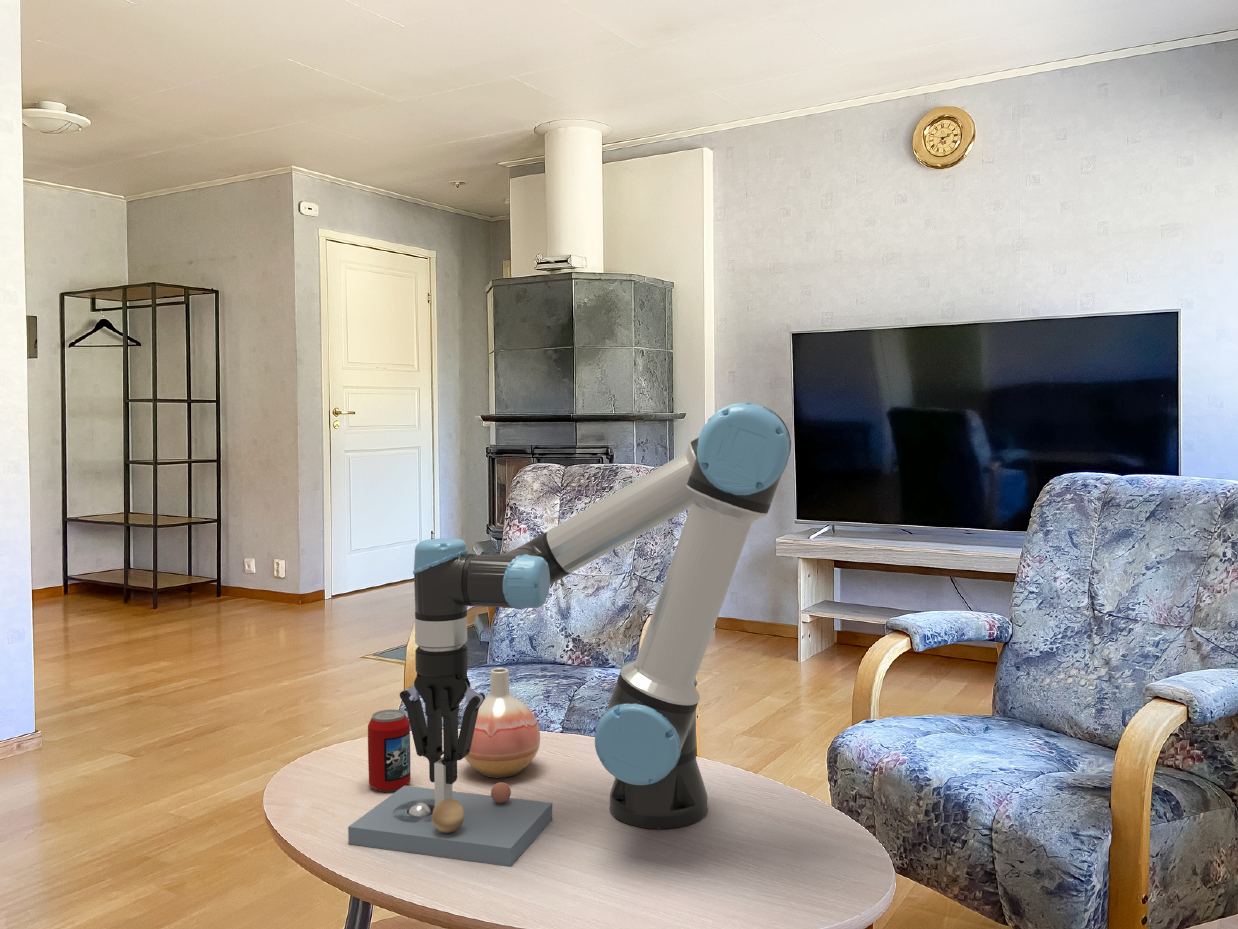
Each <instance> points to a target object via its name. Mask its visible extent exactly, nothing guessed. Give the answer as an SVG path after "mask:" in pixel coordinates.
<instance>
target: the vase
mask: <svg viewBox="0 0 1238 929" xmlns="http://www.w3.org/2000/svg"><path fill="white" fill-rule="evenodd" d="M489 673H490V680H489V682H490V683H489V684H490V686H489V687H490V688H489V694H488V695H487V696H485V700H484V701H483V703H482V704H481V706H480V708H479V711H478V715H477V720H476V725H475V729H474V734H473V738H472V743H471V748H470V752H469V754H468V755H467V756H465V757H464V758H463V759H465V760H466V762H467V763H468V764H469V765H470V766H471V767H472V768H473V769H475V770H477V772H478V773H480V774H481V775H483V777H488V778H495V779H497V778H498V779H499V778H500V779H503V778H509V777H513V776H516V775H517V774H519V773H520V772H522V771H523V770H524V768H526V767H527V766H528V765H530V763H532V761H533V760H534V758H536V756H537V753H538V751H539V750H540V749H539V748H540V744H541V731H540V726H539V723H538V721H537V717H536V716H535V713H533V711H532V710H531V709H530V708H529V707H528V706H527V705H526V704H525V702H523V701H521V700H520V699H518V698H517V697H515V696H514V695H513V694H511V693H510V676H509V675H510V674H509V673H510V671H509V669H508V668H505V667H497V668H492V669H491V670H490V672H489Z"/></svg>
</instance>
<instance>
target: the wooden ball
mask: <svg viewBox="0 0 1238 929" xmlns="http://www.w3.org/2000/svg"><path fill="white" fill-rule="evenodd" d="M463 820H464V809H463V807H462V805H461V804H460V803H459V802H458V801H456V800H453V799H445V800H442V801H440V802H439V803H438V804H437V805H436V806H435V808H434V810H433V812H432V821H433V824H434V826H435V827H436V828H437V829H438V830H439V831H441V832H444V833H451V832H454V831H456V830H457V829H458V828H459V827H460V826H461V825H462V823H463Z"/></svg>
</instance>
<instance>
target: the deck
mask: <svg viewBox="0 0 1238 929" xmlns="http://www.w3.org/2000/svg"><path fill="white" fill-rule="evenodd" d="M452 799H453V800H456V801H458V802H459V803H460V804H461V805H462V807H463V809H464V820H463V823H462V825H461V826H460V827H459V828H458V829H457V830H456V831H454V832H451V833H444V832H441V831H439V830H438V829H437V828H436V827H435V826H434V824H433V821H432V815H430V816H425V817H414V816H410V815H408V811H409V809H410V808H411V807H412V806H413V805H414V804H417V803H424V804H426V805H428V806H429V808H430V809H431V813H432V812H433V810H434V808H435V788H428V787H421V786H412V785H405V786H403V787H402V788H400V789H399V790H395V791H394V793H392V794H390V796H388V797H387V798H385V799H384V800H383V801H381V802H380V803H378V804H377V805H376V806H375V807H373V808H372V809H371V810H369V811H368V812H366V813H365V814H364V815H362V816H361V817H359V818H358V819H356V820H355V821H354V822H352V823H351V824H350V825H348V827H347V832H348V833H347V835H348V838H347V839H348V840H347V841H348V845H354V846H361V847H367V848H376V849H382V850H389V851H398V852H405V853H412V854H417V855H419V854H420V855H427V856H433V857H440V858H448V859H454V860H462V861H469V862H476V863H483V864H492V865H499V866H505V867H512V866H513V865H514V863H515V862H516V861H517V860H518V859H519V858H520V856H522V854H523V853H524V852H525V851H526V850H527V849H528V847H529V846H531V844H532V843H533V841H534V840H536V838H537V837H538V836H539V835H540V834H541V833H542V832H543V830H544V829H545V828H546V827H548V825H549V823H550V822H552V820H553V802H549V801H539V800H533V799H522V798H513V797H510V798H509V799H508V800H507V801H506V802H504V803H497V802H495V801H494V800H493V799H492V796H491V794H489V795H487V794H481V793H480V794H479V793H471V792H463V791H454V790H452Z"/></svg>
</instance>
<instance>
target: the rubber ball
mask: <svg viewBox="0 0 1238 929" xmlns="http://www.w3.org/2000/svg"><path fill="white" fill-rule="evenodd" d="M511 794H512V790H511V787H510V785H508V783H507V782H501V781H500V782H499V781H498V782H497V783H495V784H494V785H493V786H492V787H491V791H490V796H492V799H493V800H494V801H495V802H497V803H504V802H506V801H507V800H508V799H509V798H511V796H512V795H511Z"/></svg>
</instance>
